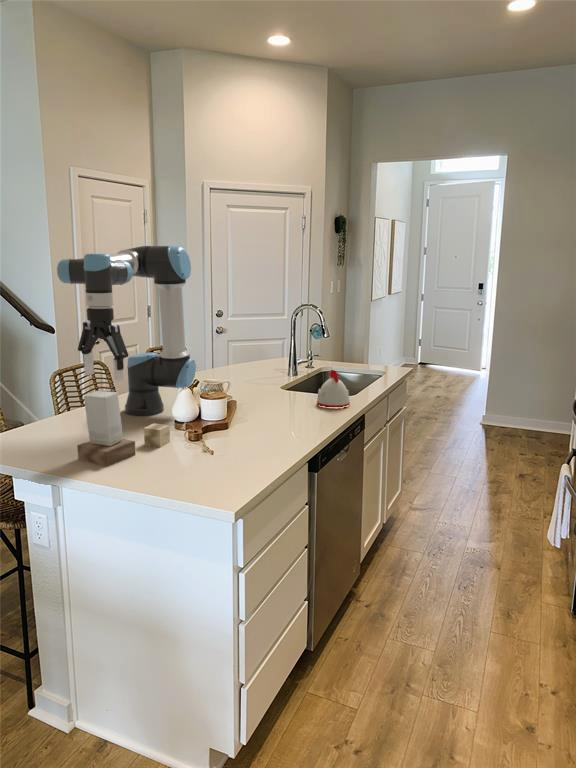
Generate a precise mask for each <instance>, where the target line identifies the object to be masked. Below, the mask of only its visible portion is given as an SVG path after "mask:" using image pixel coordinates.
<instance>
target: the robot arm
mask: <svg viewBox="0 0 576 768" xmlns="http://www.w3.org/2000/svg"><path fill="white" fill-rule="evenodd" d="M191 271H192V265H191V260H190V257H189V254H188V253H187V250H186V249H185V248H183V247H181V246H174V245H140V246H136V247H131V248H127V249H122V250H120V251H117V253H113V254H109V253H85V254H84V256H83V258H75V259H74V258H67V259H66V258H65V259H64V258H63V259H61V260H60V261H59V262H58V263H57V266H56V272H57V278H58V279H59V280H60V282H61V283H63V284H70V285H74V284H75V285H77V284H78V285H85V286H84V287H85V299H86V300H85V302H86V303H85V304H86V306H87V309H86V319H87V320H86V321H83V323H82V332H81V335H80V339H79V342H78V347H77V351H79V352H81V354H82V359H83V364H84V375H85V376H92V375H94V374H95V370H94V355H93V351H92V350H93V348H94V346H95V345H96V343H97V341H98V339H100V340H103V341H104V342H105V343H106V345H107V347H108V348H109V350H110V352H111V354H112V355H113V357H114V358H113V361H112V362H113V380H114V382H120V381H124V367H125V366H124V359H125V358H127V381H128V385H127V386H128V395H127V399H126V403H125V404H124V412H125V413H126V414H127V415H128V414H129V415H130V416H131V415H132V416H151V415H153V416H154V415H157V414H160V413H163V412H164V410H165V407H164V405H165V404H164V402H163V401H162V397H161V393H160V390H159V389H160V388H161V387H162V388H175V389H187V388H189V387H190V386H191V385H192V384H193V382H194V380H195V376H196V370H197V364H196V360H195V359H194V358H191V356H190V355H191V353H190V352H189V350H187V349H186V339H185V338H186V337H185V320H184V319H185V318H184V317H185V316H184V301H183V300H184V297H183V287H184V286H185V285H186V283H187V280H188V279H189V278H190V276H191ZM133 277H139V278H147V279H153V283H154V285H155V286H156V287H157V288H158V294H159V295H158V296H159V311H160V324H161V325H160V326H161V339H162V340H161V341H162V350H161V352H160V353H159V354H158V352H145V353H144V352H143V353H142V352H141V353H136V354H132V355H131V356H129V352H128V349H127V348H126V345H125V342H124V341H125V340H124V338H123V336H122V334H121V329H120V324H114V325H113V324H112V321H113V320H114V316H115V315H114V308H113V305H114V297H113V296H114V294H113V286H119V285H120V286H122V285H125V284H128V283H129V282H130V281H131V280H132V278H133ZM159 387H160V388H159ZM184 387H185V388H184ZM186 387H187V388H186Z"/></svg>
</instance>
